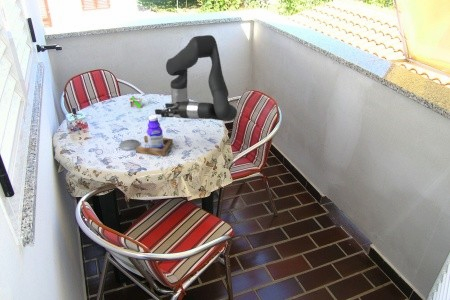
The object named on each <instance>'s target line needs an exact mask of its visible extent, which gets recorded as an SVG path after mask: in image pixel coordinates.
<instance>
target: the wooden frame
mask: <svg viewBox="0 0 450 300" xmlns="http://www.w3.org/2000/svg"><path fill="white" fill-rule="evenodd" d="M143 138H144V140H143V141H144V143H148V136H147V135H145V136H144V137H143ZM173 140H174V139H173V138H167V137H166V138H165V137H163V143H164V147H163V149H157V148H149V146H148V147H147V146H141V145H140V146H136V147H135V149H134V150H135V153H136V154H141V155H147V156H148V155H149V156H150V155H151V156H155V157H156V156H157V157H166V155H168V153H169V151H170V149H171V148H172V147H173V145H174V141H173Z"/></svg>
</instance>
